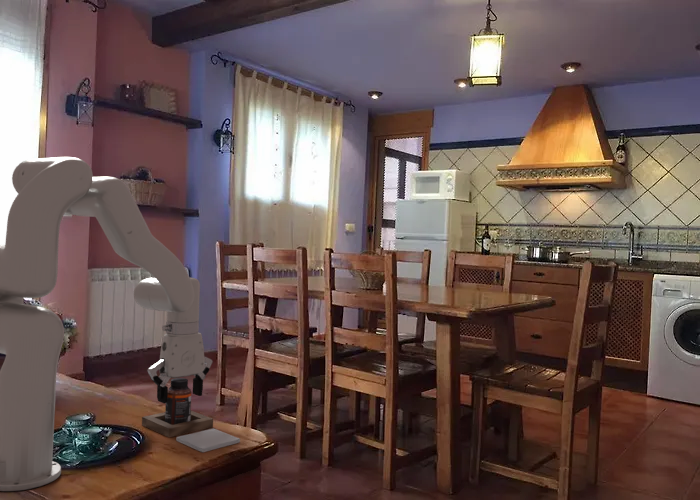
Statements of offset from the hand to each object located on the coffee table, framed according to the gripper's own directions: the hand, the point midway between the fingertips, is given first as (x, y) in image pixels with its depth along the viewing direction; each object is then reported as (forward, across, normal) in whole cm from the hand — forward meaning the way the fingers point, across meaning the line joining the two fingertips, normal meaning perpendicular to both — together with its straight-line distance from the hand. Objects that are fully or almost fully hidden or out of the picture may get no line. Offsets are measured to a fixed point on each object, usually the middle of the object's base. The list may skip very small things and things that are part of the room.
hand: (180, 398), depth 142 cm
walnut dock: (+7, -1, 0) cm, 7 cm away
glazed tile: (+6, -2, -14) cm, 16 cm away
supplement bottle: (+7, -1, 0) cm, 7 cm away
